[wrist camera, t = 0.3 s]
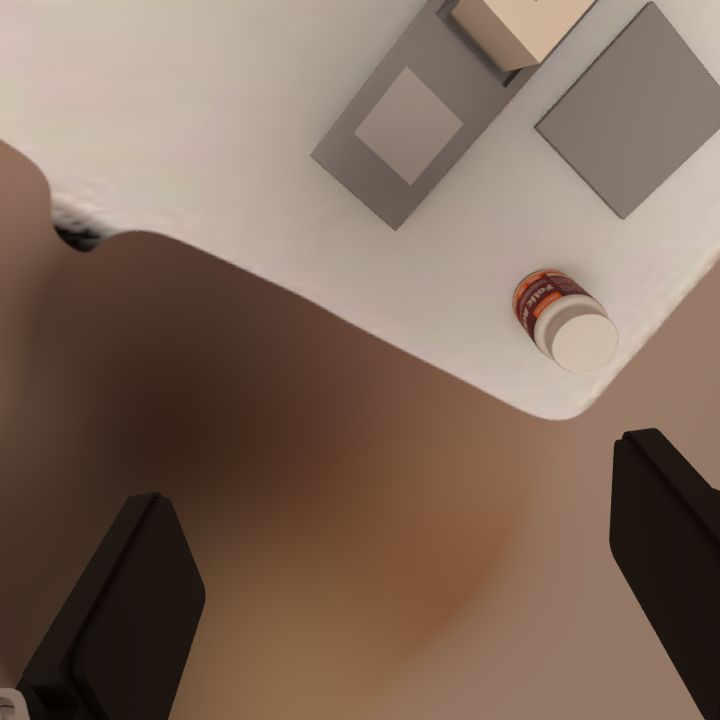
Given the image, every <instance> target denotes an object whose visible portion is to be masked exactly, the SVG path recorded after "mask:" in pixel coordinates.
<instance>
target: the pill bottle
mask: <svg viewBox="0 0 720 720" xmlns="http://www.w3.org/2000/svg"><path fill="white" fill-rule="evenodd" d="M513 310H514V313H515V315H516V317H517V319H518V320H519V322H520V323H521V325H522V326H523V327H524V329H525V330H526V332H527V333H528V334H529V336H530V337H531V339H532V340H533V342H534V343H535V344H536V346H537V348H538V349H539V350H540V351H541V353H543V354H544V355H545V356H547V357H548V358H550V359H552V360H554V361H555V362H556V363H557V364H558V365H559V366H560V367H561V368H563V369H564V370H567V371H569V372H573V373H585V372H590V371H593V370H595V369H598V368H599V367H601V366H603V365H604V364H605V363H606V362H607V361H608V360H609V359H610V358H611V357H612V355H613V354H614V352H615V350H616V348H617V344H618V333H617V329H616V327H615V325H614V324H613V323H612V321H611V320H610V319H609V318H608V315H607V313H606V311H605V309H604V308H603V306H602V305H601V304H600V303H599V302H598V301H597V300H596V299H594V298H593V297H592V296H591V295H590V294H588V293H587V292H586V291H585V290H584V289H582V288H581V287H580V286H579V285H578V284H577V283H575V282H574V281H573V280H572V279H571V278H569V277H568V276H567V275H565V274H564V273H562V272H559V271H555V270H542V271H539V272H536V273H534V274H532V275H530V276H528V277H527V278H526V279H525V280H523V281H522V283H521V284H520V285H519V287H518V288H517V290H516V292H515V295H514V298H513Z"/></svg>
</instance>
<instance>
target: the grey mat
mask: <svg viewBox="0 0 720 720" xmlns="http://www.w3.org/2000/svg"><path fill="white" fill-rule="evenodd" d="M534 128H535V129H536V130H537V131H538V132H539V133H540V134H541V135H542V136H543V137H544V138H545V139H546V140H547V141H548V142H549V143H550V144H551V146H552V147H553V148H554V149H555V150H556V151H557V152H558V153H559V154H560V155H561V156H562V157H563V158H564V159H565V160H566V161H567V162H568V164H569V165H570V166H571V167H572V168H573V169H574V170H575V171H576V172H577V173H578V174H579V175H580V176H581V177H582V178H583V179H584V180H585V181H586V183H587V184H588V185H589V186H590V187H591V188H592V189H593V190H594V191H595V192H596V193H597V194H598V195H599V196H600V197H601V198H602V199H603V201H604V202H605V203H606V204H607V205H608V206H609V207H610V208H611V209H612V210H613V211H614V212H615V213H616V214H617V215H618V216H619V217H620V218H621V219H623V220H624V219H625V218H626V217H627V216H628V215H629V214H630V213H631V212H632V211H634V210H635V209H636V208H637V207H638V206H639V205H640V204H641V203H642V202H643V201H644V200H645V199H646V198H647V197H648V196H649V195H650V194H651V193H652V192H654V191H655V190H656V189H657V188H658V187H659V186H660V185H661V184H662V183H663V182H664V181H665V180H666V179H667V178H668V177H669V176H670V175H671V174H672V173H674V172H675V171H676V170H677V169H678V168H679V167H680V166H681V165H682V164H683V163H684V162H685V161H686V160H687V159H688V158H689V157H690V156H691V155H692V154H694V153H695V152H696V151H697V150H698V149H699V148H700V147H701V146H702V145H703V144H704V143H705V142H706V141H707V140H708V139H709V138H710V137H711V136H712V135H713V134H715V133H716V132H717V131H718V130H719V129H720V86H719V85H718V84H717V82H716V81H715V80H714V78H713V77H712V76H711V75H710V73H709V72H708V71H707V70H706V68H705V67H704V66H703V64H702V63H701V62H700V61H699V59H698V58H697V57H696V56H695V54H694V53H693V52H692V51H691V49H690V48H689V47H688V45H687V44H686V43H685V42H684V40H683V39H682V38H681V37H680V35H679V34H678V33H677V31H676V30H675V29H674V28H673V26H672V25H671V24H670V23H669V21H668V20H667V19H666V17H665V16H664V15H663V14H662V12H661V11H660V10H659V9H658V7H657V6H656V5H655V3H654V2H653V1H651V2H649V3H647V4H646V5H645V6H644V7H643V9H642V10H641V11H640V12H639V13H638V14H637V15H636V16H635V17H634V18H633V19H632V21H631V22H630V23H629V24H628V25H627V26H626V27H625V28H624V29H623V30H622V32H621V33H620V34H619V35H618V36H617V37H616V38H615V39H614V40H613V41H612V42H611V44H610V45H609V46H608V47H607V48H606V49H605V50H604V51H603V52H602V53H601V54H600V56H599V57H598V58H597V59H596V60H595V61H594V62H593V63H592V64H591V65H590V67H589V68H588V69H587V70H586V71H585V72H584V73H583V74H582V75H581V76H580V77H579V79H578V80H577V81H576V82H575V83H574V84H573V85H572V86H571V87H570V88H569V90H568V91H567V92H566V93H565V94H564V95H563V96H562V97H561V98H560V99H559V100H558V102H557V103H556V104H555V105H554V106H553V107H552V108H551V109H550V110H549V111H548V112H547V114H546V115H545V116H544V117H543V118H542V119H541V120H540V121H539V122H538V123H537V125H536V126H535V127H534Z"/></svg>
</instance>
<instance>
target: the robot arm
mask: <svg viewBox="0 0 720 720" xmlns="http://www.w3.org/2000/svg"><path fill="white" fill-rule="evenodd" d="M609 542H610V548H611V552H612V554H613V557H614V559H615V561H616V563H617V564H618V566H619V568H620V570H621V572H622V573H623V575H624V577H625V579H626V580H627V582H628V584H629V586H630V587H631V589H632V591H633V593H634V595H635V596H636V598H637V600H638V602H639V604H640V605H641V607H642V609H643V610H644V612H645V614H646V616H647V618H648V620H649V621H650V623H651V625H652V627H653V629H654V630H655V632H656V634H657V636H658V637H659V639H660V641H661V643H662V645H663V646H664V648H665V650H666V652H667V654H668V655H669V657H670V659H671V661H672V662H673V664H674V666H675V668H676V670H677V671H678V673H679V675H680V677H681V678H682V680H683V682H684V684H685V686H686V687H687V689H688V691H689V693H690V694H691V696H692V698H693V700H694V702H695V703H696V705H697V707H698V709H699V711H700V712H701V714H702V716H703V717H704V719H705V720H720V491H719V490H717V489H713V488H711V486H710V485H709V484H708V483H707V482H706V481H705V480H704V479H703V478H702V476H701V475H700V474H699V473H698V472H697V471H696V470H695V469H694V468H693V467H692V466H691V465H690V463H689V462H688V461H687V460H686V459H685V458H684V457H683V456H682V455H681V454H680V453H679V451H678V450H677V449H676V448H675V447H674V446H673V445H672V444H671V443H670V442H669V441H668V440H667V439H666V437H665V436H664V435H663V434H662V433H661V432H660V431H659V430H658V429H656V428H650V429H642V430H635V431H627V432H625V433H624V434H623V436H622V439H621V440H616V441H615V444H614V457H613V476H612V497H611V515H610V536H609ZM204 604H205V588H204V584H203V582H202V579H201V576H200V574H199V571H198V569H197V566H196V564H195V561H194V559H193V556H192V553H191V551H190V548H189V546H188V543H187V541H186V538H185V535H184V533H183V530H182V528H181V525H180V523H179V520H178V518H177V515H176V512H175V510H174V507H173V505H172V503H171V501H170V499H169V498H163V496H162V495H161V494H160V493H158V492H153V493H145V494H137V495H132V496H130V497H129V498H128V499H127V500H126V502H125V504H124V506H123V507H122V509H121V510H120V512H119V514H118V515H117V517H116V519H115V520H114V522H113V524H112V525H111V527H110V529H109V530H108V532H107V534H106V535H105V537H104V539H103V540H102V542H101V543H100V545H99V547H98V549H97V550H96V552H95V554H94V555H93V557H92V558H91V560H90V562H89V563H88V565H87V567H86V569H85V570H84V572H83V574H82V575H81V577H80V579H79V580H78V582H77V583H76V585H75V587H74V588H73V590H72V592H71V593H70V595H69V597H68V598H67V600H66V602H65V603H64V605H63V607H62V608H61V610H60V612H59V613H58V615H57V617H56V618H55V620H54V622H53V623H52V625H51V626H50V628H49V630H48V632H47V633H46V635H45V636H44V638H43V640H42V642H41V643H40V645H39V646H38V648H37V650H36V651H35V653H34V655H33V656H32V658H31V660H30V661H29V663H28V665H27V667H26V668H25V670H24V671H23V677H22V678H21V680H20V681H19V683H18V685H17V687H16V688H15V689H13V688H0V720H168V717H169V714H170V711H171V708H172V705H173V702H174V698H175V695H176V692H177V689H178V686H179V683H180V680H181V676H182V673H183V670H184V667H185V664H186V660H187V658H188V654H189V651H190V648H191V645H192V642H193V639H194V636H195V633H196V629H197V626H198V623H199V620H200V617H201V614H202V610H203V607H204Z"/></svg>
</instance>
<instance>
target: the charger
mask: <svg viewBox="0 0 720 720" xmlns="http://www.w3.org/2000/svg"><path fill="white" fill-rule="evenodd" d="M594 1H595V0H459V2H458V3H457V4H456V5H455V7H454V8H453V9H452V11H451V12H450V13H449V14H448V16H447V17H448V18H449V20H450V21H451V22H452V23H453V24H454V25H455V26H456V27H457V28H458V29H459V30H460V31H461V32H462V33H463V35H464V36H465V37H466V38H467V39H468V40H469V41H470V42H471V43H472V44H473V45H474V46H475V47H476V48H477V50H478V51H479V52H480V53H481V54H482V55H483V56H484V57H485V58H486V59H487V60H488V61H489V62H490V63H491V65H492V66H493V67H494V68H495V69H496V70H497V71H498V72H499V73H502V72H506V71H510V70H514V69H518V68H522V67H527V66H531V65H535V64H539V63H540V62H541V61H542V60H543V59H544V58H545V57H546V56H547V54H548V53H549V52H550V51H551V50H552V49H553V48H554V46H555V45H556V44H557V43H558V42H559V41H560V40H561V38H562V37H563V36H564V35H565V34H566V33H567V32H568V30H569V29H570V28H571V27H572V26H573V25H574V24H575V22H576V21H577V20H578V19H579V18H580V17H581V16H582V14H583V13H584V12H585V11H586V10H587V9H588V8H589V6H590V5H591V4H592V3H593V2H594Z"/></svg>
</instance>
